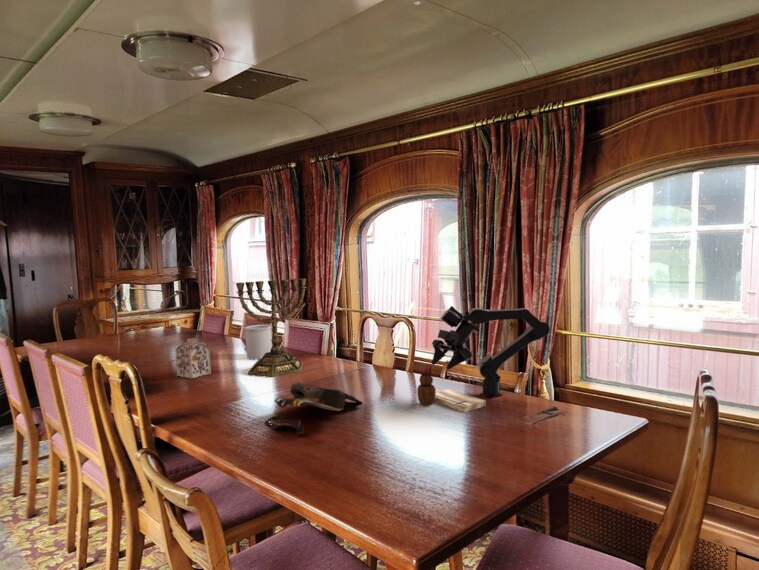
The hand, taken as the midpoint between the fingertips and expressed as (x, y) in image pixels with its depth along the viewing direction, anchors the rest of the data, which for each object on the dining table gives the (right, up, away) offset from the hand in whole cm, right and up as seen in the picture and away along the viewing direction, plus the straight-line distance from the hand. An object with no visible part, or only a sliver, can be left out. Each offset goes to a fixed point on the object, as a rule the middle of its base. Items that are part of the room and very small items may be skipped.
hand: (439, 366), depth 194 cm
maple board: (+6, -13, -2) cm, 15 cm away
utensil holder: (-91, -10, +92) cm, 130 cm away
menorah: (-75, -12, +60) cm, 96 cm away
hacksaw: (+33, -15, -22) cm, 42 cm away
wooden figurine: (-5, -14, -2) cm, 15 cm away
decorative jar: (-114, -13, +55) cm, 127 cm away
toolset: (-43, -17, -13) cm, 48 cm away
